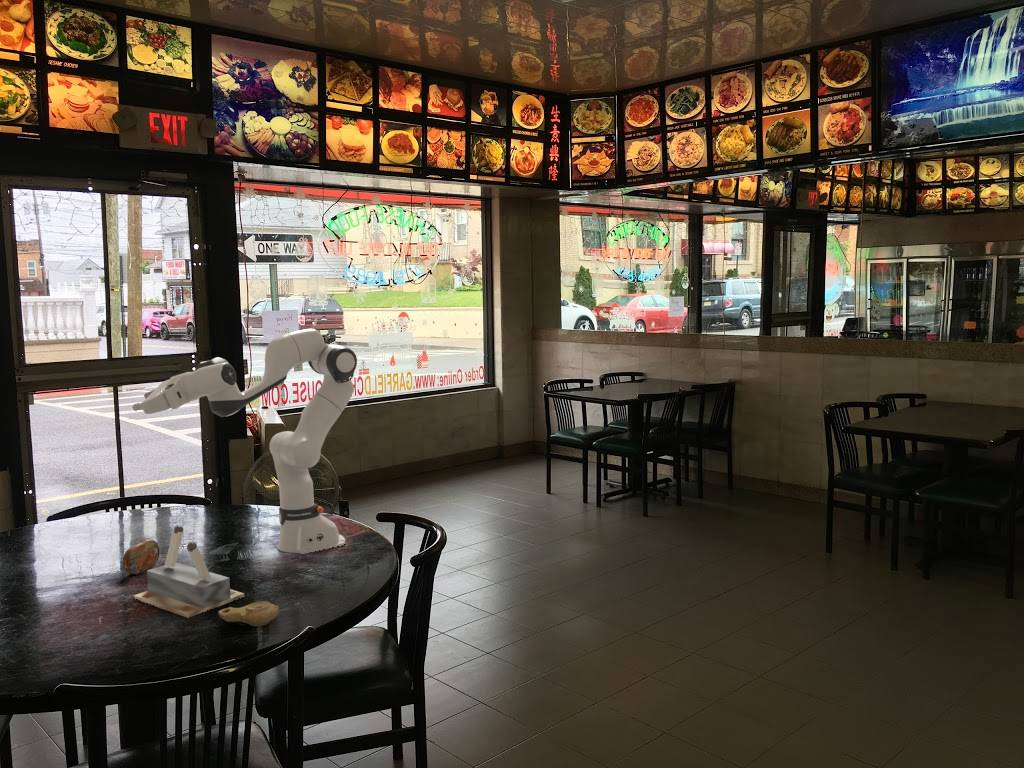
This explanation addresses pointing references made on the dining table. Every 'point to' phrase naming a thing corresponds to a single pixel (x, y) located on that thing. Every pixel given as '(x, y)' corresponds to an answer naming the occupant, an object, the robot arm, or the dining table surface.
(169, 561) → the lever
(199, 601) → the switch box
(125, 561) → the tin
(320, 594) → the dining table surface
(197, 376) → the robot arm
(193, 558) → the lever
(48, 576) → the dining table surface
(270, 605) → the oil lamp
